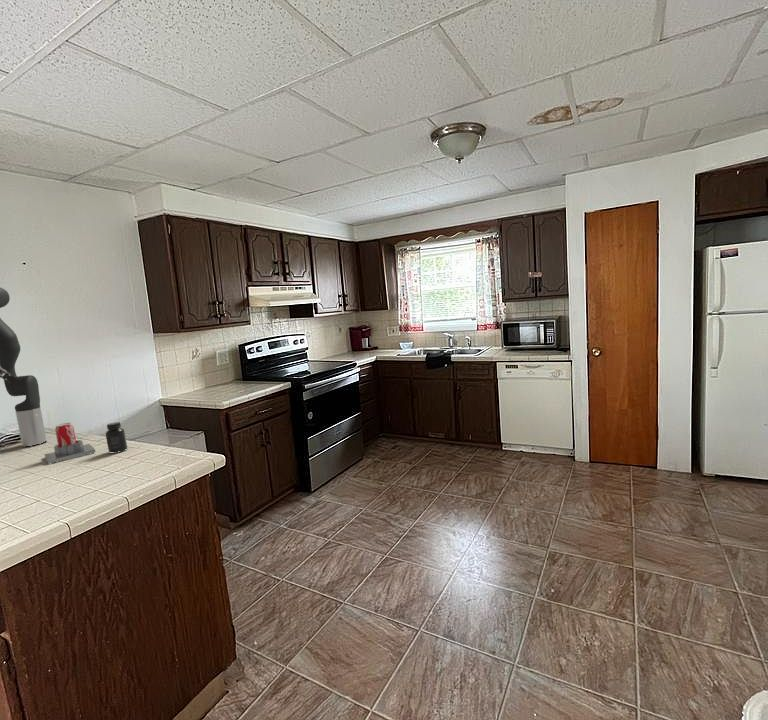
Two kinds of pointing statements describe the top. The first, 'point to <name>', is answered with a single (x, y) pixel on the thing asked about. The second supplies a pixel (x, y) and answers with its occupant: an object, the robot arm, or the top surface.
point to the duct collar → (69, 452)
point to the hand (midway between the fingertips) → (17, 382)
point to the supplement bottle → (116, 437)
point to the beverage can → (65, 434)
